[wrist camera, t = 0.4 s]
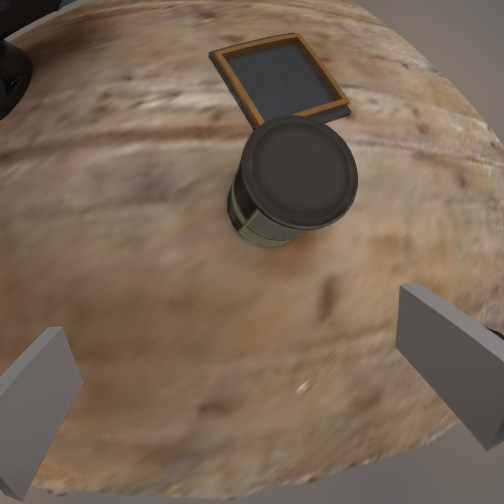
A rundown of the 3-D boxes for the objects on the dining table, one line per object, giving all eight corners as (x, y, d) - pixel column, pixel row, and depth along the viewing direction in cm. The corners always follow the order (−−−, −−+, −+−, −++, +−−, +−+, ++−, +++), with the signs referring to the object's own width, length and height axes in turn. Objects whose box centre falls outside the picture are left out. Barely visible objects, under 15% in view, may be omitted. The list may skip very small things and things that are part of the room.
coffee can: (207, 202, 38) (214, 157, 24) (268, 153, 40) (302, 96, 26) (264, 266, 38) (303, 256, 25) (321, 212, 40) (378, 180, 27)
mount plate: (208, 56, 40) (209, 47, 38) (292, 36, 43) (296, 27, 41) (262, 146, 40) (266, 139, 38) (348, 115, 43) (355, 108, 41)
